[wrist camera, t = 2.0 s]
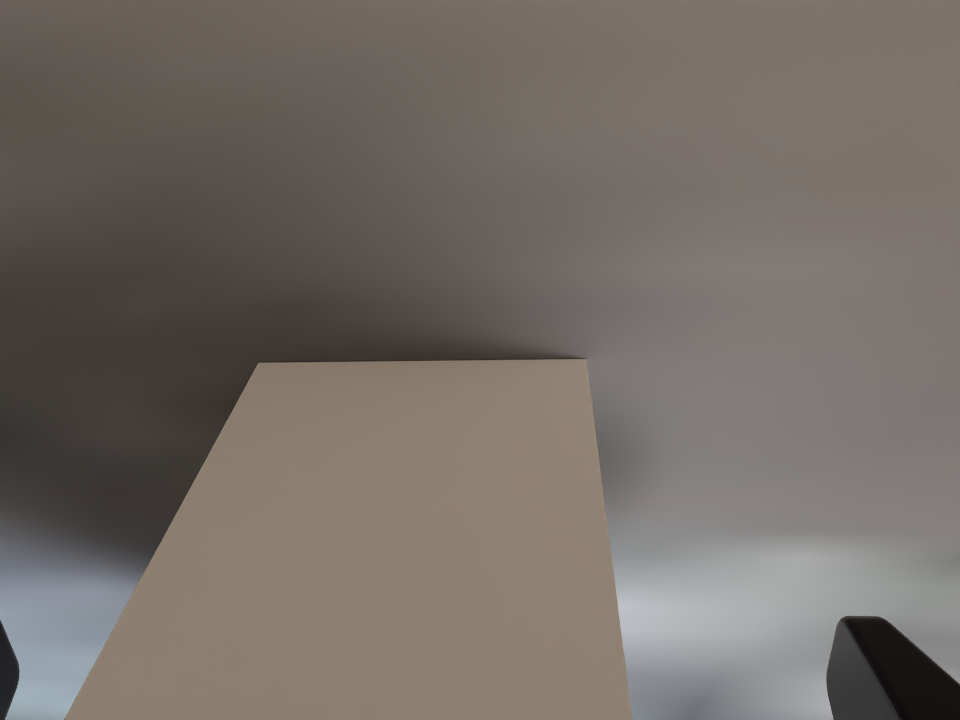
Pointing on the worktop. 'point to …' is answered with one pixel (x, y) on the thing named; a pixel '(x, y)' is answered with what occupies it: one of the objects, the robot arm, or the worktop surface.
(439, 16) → the worktop surface
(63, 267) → the worktop surface
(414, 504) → the cream block
